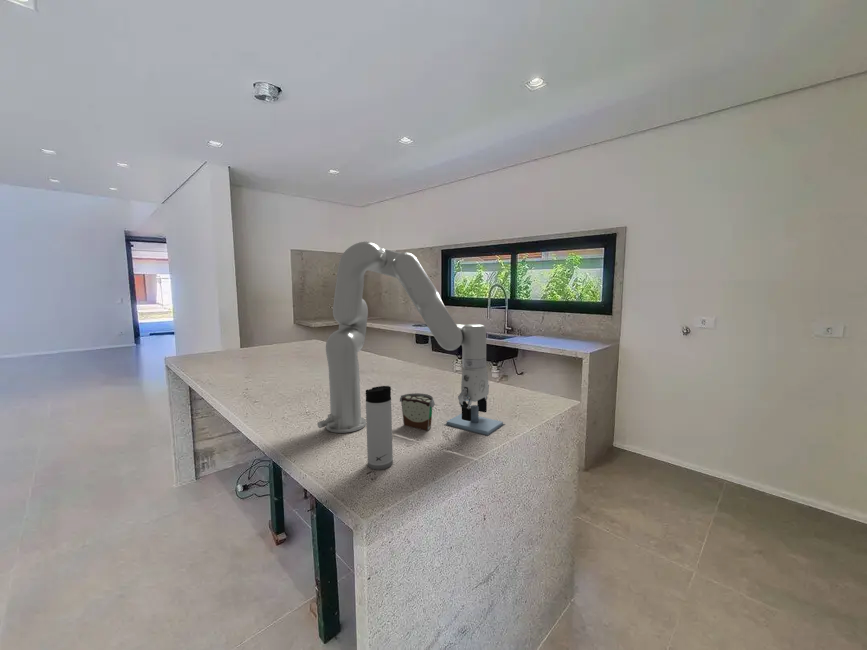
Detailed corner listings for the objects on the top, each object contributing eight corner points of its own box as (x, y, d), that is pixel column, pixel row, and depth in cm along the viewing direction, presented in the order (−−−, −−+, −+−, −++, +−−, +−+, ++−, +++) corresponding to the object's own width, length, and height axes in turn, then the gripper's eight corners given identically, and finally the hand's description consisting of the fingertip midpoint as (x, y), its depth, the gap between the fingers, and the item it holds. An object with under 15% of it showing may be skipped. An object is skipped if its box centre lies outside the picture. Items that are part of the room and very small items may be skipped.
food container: (442, 426, 115) (442, 396, 114) (432, 433, 110) (431, 401, 109) (411, 419, 122) (410, 390, 121) (400, 425, 116) (399, 395, 115)
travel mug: (383, 472, 86) (380, 391, 84) (362, 466, 89) (359, 387, 87) (398, 462, 91) (397, 385, 89) (379, 456, 95) (376, 382, 93)
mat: (487, 437, 106) (487, 436, 106) (443, 426, 115) (443, 424, 115) (505, 425, 115) (505, 424, 115) (463, 415, 125) (463, 414, 125)
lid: (487, 434, 107) (487, 415, 106) (446, 424, 116) (446, 406, 115) (502, 424, 115) (502, 406, 114) (463, 415, 124) (463, 398, 123)
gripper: (470, 369, 104) (470, 426, 106) (497, 360, 118) (497, 410, 119) (449, 366, 109) (449, 421, 110) (477, 357, 122) (477, 406, 124)
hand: (474, 415), depth 115 cm, fingers open, 9 cm apart
